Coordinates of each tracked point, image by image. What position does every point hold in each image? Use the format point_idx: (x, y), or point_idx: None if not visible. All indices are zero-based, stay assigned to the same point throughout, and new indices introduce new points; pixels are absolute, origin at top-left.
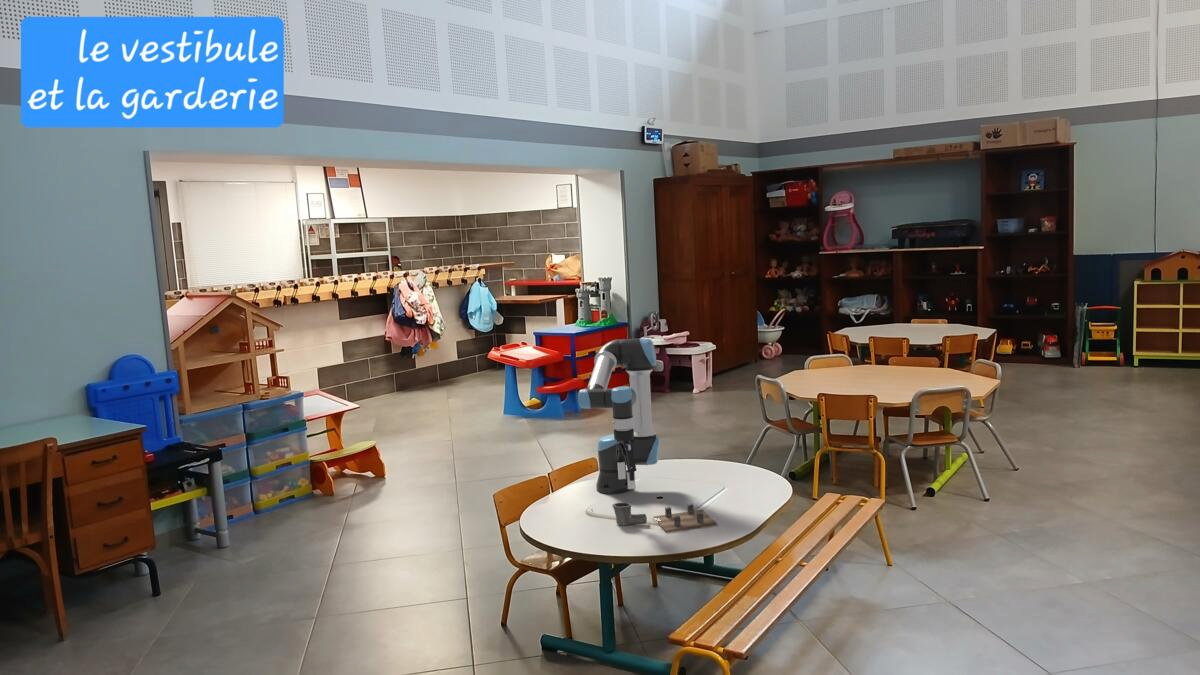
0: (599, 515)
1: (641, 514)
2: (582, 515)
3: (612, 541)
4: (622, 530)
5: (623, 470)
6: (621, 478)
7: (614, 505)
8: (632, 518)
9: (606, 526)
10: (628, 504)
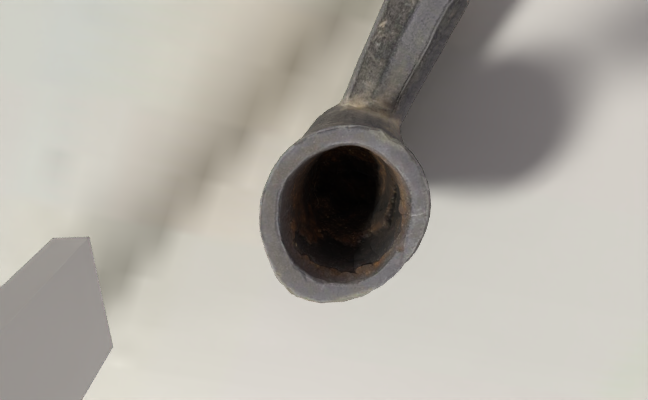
0: None
1: (432, 22)
2: None
3: (629, 290)
4: (461, 188)
5: (12, 373)
6: (98, 315)
7: (346, 291)
8: (409, 105)
9: None
10: (333, 147)
